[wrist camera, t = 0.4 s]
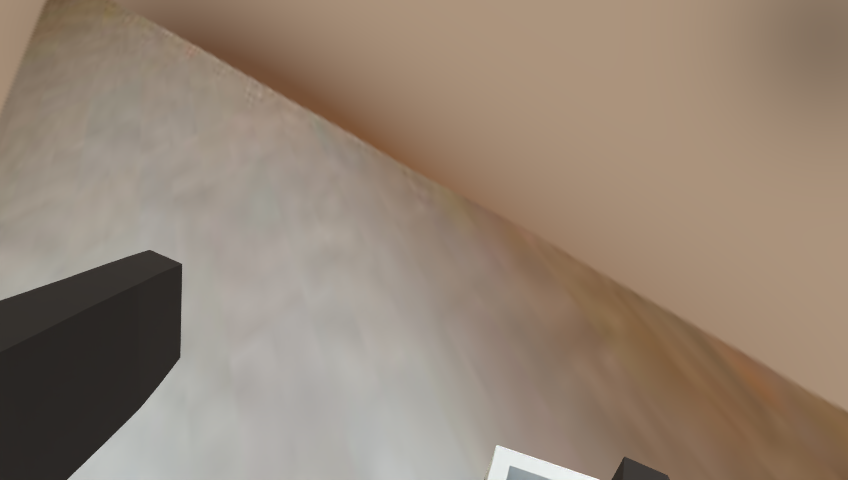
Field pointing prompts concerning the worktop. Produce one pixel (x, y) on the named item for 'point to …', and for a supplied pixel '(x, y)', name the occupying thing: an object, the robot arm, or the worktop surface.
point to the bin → (526, 468)
